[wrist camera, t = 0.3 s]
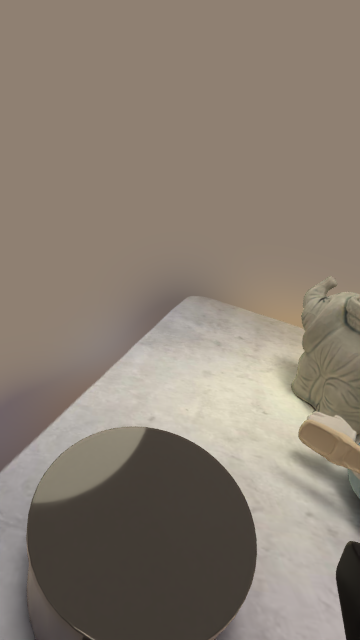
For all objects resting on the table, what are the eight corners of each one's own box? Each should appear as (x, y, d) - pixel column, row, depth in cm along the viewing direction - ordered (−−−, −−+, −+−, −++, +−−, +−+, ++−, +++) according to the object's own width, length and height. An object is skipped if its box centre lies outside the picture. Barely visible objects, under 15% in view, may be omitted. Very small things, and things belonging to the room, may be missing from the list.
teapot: (277, 358, 54) (322, 250, 47) (371, 394, 50) (434, 282, 44) (267, 408, 39) (331, 261, 32) (398, 464, 36) (501, 312, 29)
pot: (232, 794, 13) (276, 743, 11) (-58, 697, 13) (-62, 632, 11) (228, 491, 27) (247, 446, 25) (84, 447, 27) (93, 399, 25)
